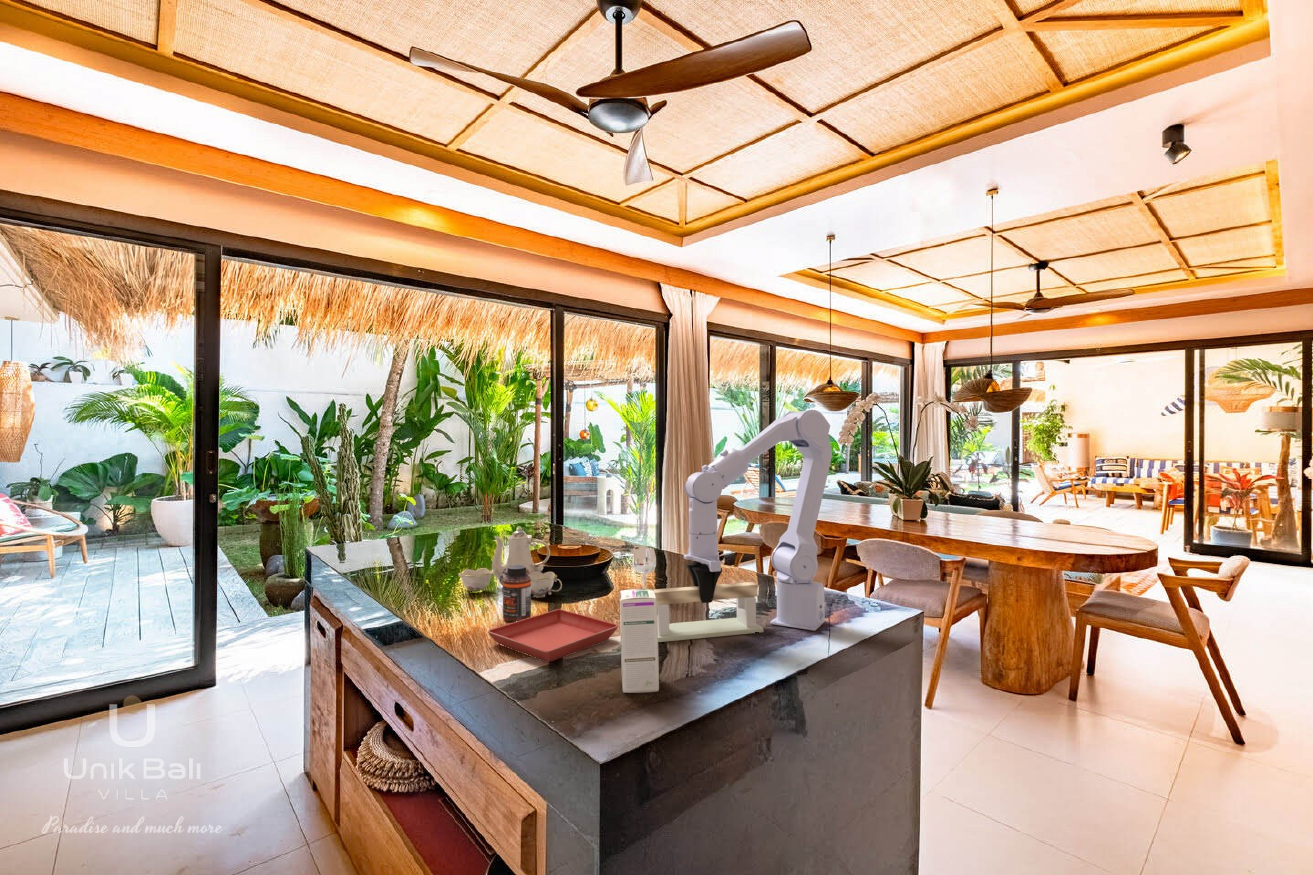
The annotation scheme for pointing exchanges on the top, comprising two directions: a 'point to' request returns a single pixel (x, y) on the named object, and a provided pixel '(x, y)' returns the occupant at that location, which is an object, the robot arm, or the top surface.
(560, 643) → the plant saucer
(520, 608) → the supplement bottle
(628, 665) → the syrup box
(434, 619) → the top surface
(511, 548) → the chinaware
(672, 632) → the rail stand
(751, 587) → the rail
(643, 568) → the wineglass
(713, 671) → the top surface
